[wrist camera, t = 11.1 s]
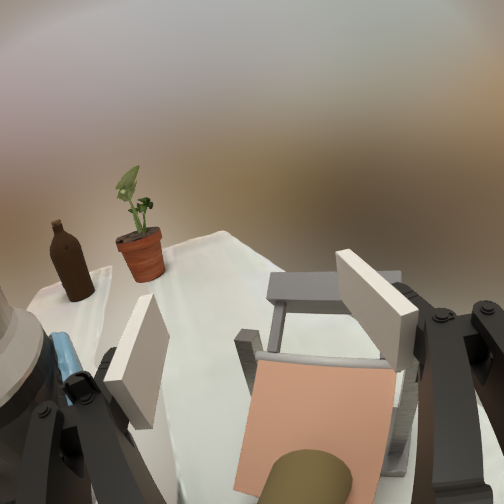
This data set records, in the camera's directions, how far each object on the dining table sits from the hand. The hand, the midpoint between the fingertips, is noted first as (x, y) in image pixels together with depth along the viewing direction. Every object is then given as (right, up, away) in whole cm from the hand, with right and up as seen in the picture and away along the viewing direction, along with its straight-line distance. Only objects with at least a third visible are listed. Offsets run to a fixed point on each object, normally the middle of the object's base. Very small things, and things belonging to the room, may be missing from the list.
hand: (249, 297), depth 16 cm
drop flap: (+7, -10, +8) cm, 14 cm away
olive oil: (-54, -12, +71) cm, 90 cm away
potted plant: (-31, -5, +76) cm, 83 cm away
